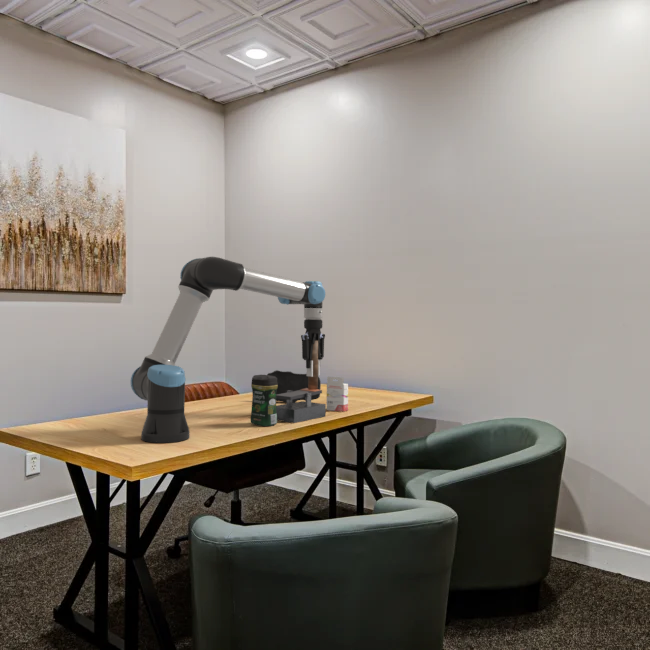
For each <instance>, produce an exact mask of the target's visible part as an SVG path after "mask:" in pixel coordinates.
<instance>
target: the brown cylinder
mask: <svg viewBox="0 0 650 650" xmlns="http://www.w3.org/2000/svg"><path fill="white" fill-rule="evenodd" d="M309 342H312V341H309ZM311 360H312V361H313V377H310V376H308V389H309V390H316V389H318V341H315V343H314V344H313V352H312V359H311Z"/></svg>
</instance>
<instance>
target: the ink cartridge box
mask: <svg viewBox="0 0 650 650" xmlns="http://www.w3.org/2000/svg"><path fill="white" fill-rule="evenodd" d="M344 380H345V378H344V377H342V376H341V377H340V376H327V382H326V411H332V412H333V411H335V412H343V413H344V412H347V411H348V410H349V383H344Z"/></svg>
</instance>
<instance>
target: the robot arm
mask: <svg viewBox="0 0 650 650" xmlns="http://www.w3.org/2000/svg"><path fill="white" fill-rule="evenodd" d="M177 287H178V288H177V289H178V291H179V294H178V296H177V299H176V300H175V303H174V305H173V306H172V309H171V311H170V314H169V316H168V317H167V319H166V323H165V325H164V326H163V329H162V331H161V333H160V334H159V335H160V336H159V337H158V339H157V341H156V343H155V346H154V348H153V349H152V352H151V353H150V354H148V355H146V356H144V358H143V361H142V363H141V365H140V366H139V367H137V368H136V369H135V370H134V371H133V373H132V374H131V376H130V387H131V390H132V392H133V393H134V394H135V396H137V397H138V398H139V399H141V400H144V401H147V408H146V410H147V414H146V417H145V420H144V422H143V423H144V424H143V425H142V426H143V427H142V430H141V434H140V436H141V437H140V439H141V441H143V442H148V443H156V444H157V443H159V444H160V443H161V444H162V443H163V444H164V443H165V444H166V443H177V442H183V441H187V440H189V439H190V433H191V432H190V428H189V425H188V422H187V417H186V415H185V403H186V401H185V400H186V399H185V398H186V397H185V395H186V375H185V374H186V373H185V370H184V368H183V367H180V366H179V365H176V362H177V359H178V357H179V355H180V353H181V351H182V348H183V346H184V345H185V342H186V340H187V338H188V335H189V334H190V331H191V329H192V327H193V325H194V324H195V323H194V322H195V320H196V318H197V316H198V313H199V311H200V309H201V307H202V306H203V303H205V302H207V301H209V300H210V297H211V295H212V293H213V291H214V290H215V291H216V290H231V291H236V292H237V291H239V290H240V289H241V290H243V291H248V292H249V291H250V292H252V293H253V292H254V293H257V294H263V295H268V296H273V297H277V299H278V302H279V303H280V304H282V305H303V318H304V321H303V325H304V326H303V327H304V329H305V334H300V339H301V351H302V352H301V353H302V354H301V355H302V357H301V358H302V359H303V361H305V368H306V374H307V376H310V377H313V361H312V360H311V359H312V352H313V344H314V343H315V341H318V376H319V377H320V376H321V372H320V371H321V360H323V358H324V355H325V337H326V334H324V333H322V331H321V329H323V302H324V300H325V299H326V290H325V287H324V286H323V283H322V282H321V281H318V280H314V281H313V280H312V281H311V280H309V281H308V280H307V281H304V282H302V281H300V280H296V279H292V278H287V277H284V276H280V275H276V274H271V273H267V272H264V271H259V270H255V269H251V268H247V267H245V266H244V264H242V263H239V262H235V261H233V260H228V259H224V258H222V257H217V256H206V257H199V258H194V259H191V260H189V261H188V262H186V263H185V264H184V266H183V267H182V268H181V270H180V282H179V284H178V286H177ZM309 341H312V342H309Z"/></svg>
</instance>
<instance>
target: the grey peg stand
mask: <svg viewBox="0 0 650 650" xmlns="http://www.w3.org/2000/svg"><path fill="white" fill-rule="evenodd" d="M292 391H293V390H288V391H287V392H292ZM326 406H327V403H326V404H325V403H320V402H312V400H311V392H308V393H306V395H305V400H300V401H297V402H295V403H292V400H287V403H285V404H278V405H277V404H276V411H277V422H278V421H279V422H286V423H291V424H296V423H300V422H305V421H310V420H314V419H319V418H325V417H326V411H327V409H326Z"/></svg>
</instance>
